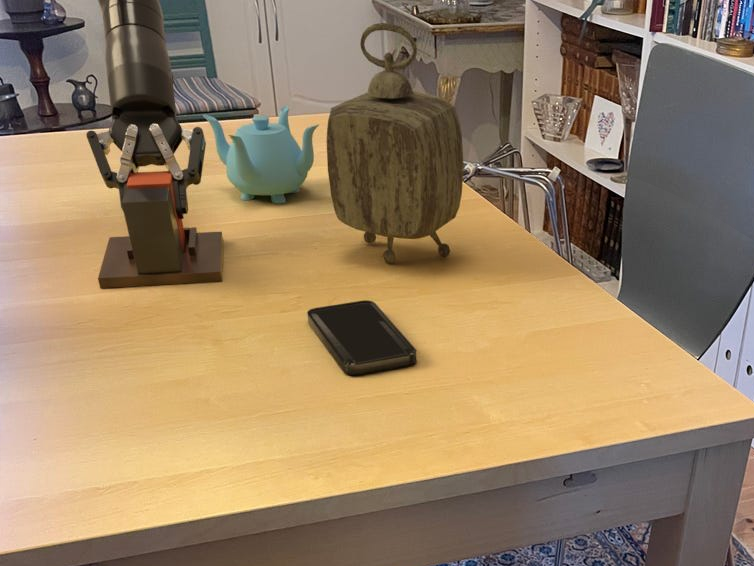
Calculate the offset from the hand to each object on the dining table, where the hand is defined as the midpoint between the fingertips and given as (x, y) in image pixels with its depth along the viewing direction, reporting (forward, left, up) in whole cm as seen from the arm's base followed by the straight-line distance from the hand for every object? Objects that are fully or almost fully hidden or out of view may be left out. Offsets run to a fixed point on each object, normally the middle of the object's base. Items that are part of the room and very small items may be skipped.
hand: (156, 216), depth 113 cm
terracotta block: (-1, +2, -4) cm, 5 cm away
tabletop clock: (+26, +11, -6) cm, 29 cm away
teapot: (-1, +28, -6) cm, 29 cm away
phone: (+32, -13, -5) cm, 35 cm away
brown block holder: (0, -1, -5) cm, 5 cm away
